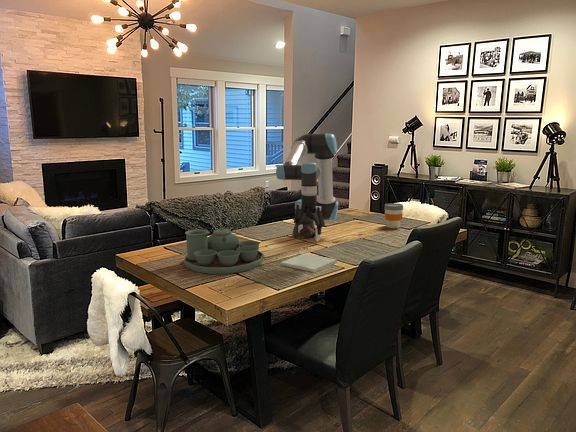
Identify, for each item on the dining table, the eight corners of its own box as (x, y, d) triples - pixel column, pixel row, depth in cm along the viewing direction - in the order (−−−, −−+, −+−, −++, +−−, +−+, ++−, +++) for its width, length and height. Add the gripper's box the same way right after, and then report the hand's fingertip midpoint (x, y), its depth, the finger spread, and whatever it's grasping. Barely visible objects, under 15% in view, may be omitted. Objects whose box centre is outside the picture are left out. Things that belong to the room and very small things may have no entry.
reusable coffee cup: (405, 225, 316) (406, 204, 313) (399, 229, 305) (399, 206, 303) (387, 224, 322) (388, 202, 320) (380, 227, 312) (381, 205, 309)
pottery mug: (315, 245, 222) (307, 230, 221) (300, 250, 227) (292, 236, 226) (324, 233, 232) (316, 219, 230) (309, 239, 237) (301, 226, 236)
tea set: (207, 280, 208) (206, 245, 205) (172, 260, 240) (170, 229, 237) (279, 264, 231) (279, 232, 228) (238, 248, 263) (237, 220, 260)
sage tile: (281, 265, 230) (281, 262, 229) (304, 256, 245) (304, 253, 245) (314, 272, 217) (314, 269, 217) (336, 262, 233) (336, 259, 233)
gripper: (286, 193, 228) (286, 237, 233) (323, 197, 215) (323, 244, 219) (295, 191, 234) (295, 234, 238) (332, 195, 221) (332, 240, 225)
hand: (309, 239), depth 229 cm, fingers closed on pottery mug, 10 cm apart
